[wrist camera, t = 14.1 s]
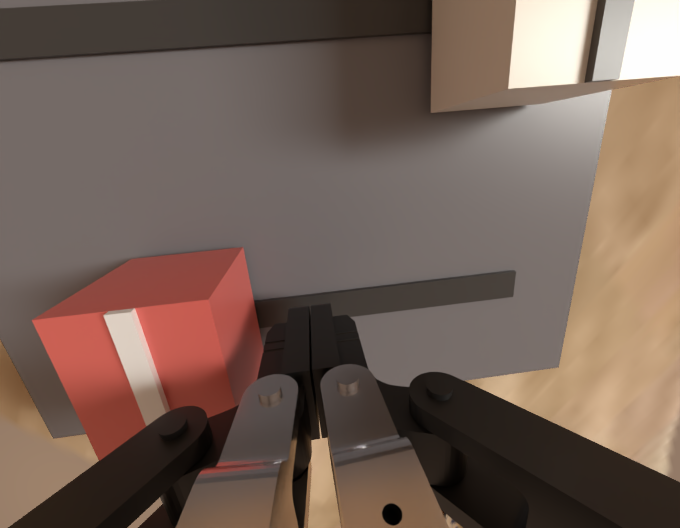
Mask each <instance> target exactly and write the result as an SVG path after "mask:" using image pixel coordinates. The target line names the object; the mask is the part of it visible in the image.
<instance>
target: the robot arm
mask: <svg viewBox="0 0 680 528" xmlns="http://www.w3.org/2000/svg"><path fill="white" fill-rule="evenodd" d="M319 420H320V427H321V434H322V438H326V437H328V445H329V451H330V459H331V466H332V473H333V479H334V485H335V491H336V498H337V504H338V510H339V516H340V523H341V528H449V526H448V524H447V522H446V520H445V517H444V515H443V513H442V511H443V512H444V513H446V514H447V515H448V516H449V517H450V518H452V519H453V520H454V521H455V522H457V523H458V524H459V525H460V526H462V527H463V528H680V482H678V481H676V480H674V479H672V478H669V477H667V476H665V475H663V474H661V473H659V472H657V471H655V470H652V469H650V468H648V467H646V466H644V465H642V464H640V463H638V462H635V461H633V460H631V459H629V458H627V457H625V456H623V455H621V454H618V453H616V452H614V451H612V450H610V449H608V448H606V447H604V446H601V445H599V444H597V443H595V442H593V441H591V440H589V439H587V438H584V437H582V436H580V435H578V434H576V433H574V432H572V431H569V430H567V429H565V428H563V427H561V426H559V425H557V424H555V423H552V422H550V421H548V420H546V419H544V418H542V417H540V416H538V415H535V414H533V413H531V412H529V411H527V410H525V409H523V408H521V407H518V406H516V405H514V404H512V403H510V402H508V401H506V400H504V399H501V398H499V397H497V396H495V395H493V394H491V393H489V392H487V391H484V390H482V389H480V388H478V387H476V386H474V385H472V384H470V383H467V382H465V381H463V380H461V379H459V378H457V377H455V376H452V375H450V374H447V373H442V372H427V373H423V374H420V375H418V376H417V377H415V378H414V379H413V380H412V381H411V383H410V386H409V387H404V386H395V385H390V384H386V383H384V382H381V381H379V380H378V379H376V378H375V377H374V375H373V374H372V372H371V371H370V370H369V369H368V366H367V363H366V359H365V356H364V352H363V348H362V345H361V341H360V338H359V334H358V331H357V327H356V324H355V321H354V320H353V319H352V318H350V317H349V316H348V315H340V316H332V309H331V303H326V304H318V305H311V314H310V308H309V306H303V307H295V308H289V309H288V317H287V322H286V323H278V324H274V326H273V327H272V328H271V329H270V330H269V331H268V332H267V335H266V340H265V345H264V349H263V354H262V358H261V363H260V368H259V372H258V377H257V380H256V381H255V382H253V383H252V384H251V385H250V386H249V387H248V388H247V389H246V390H245V392H244V393H243V396H242V398H241V401H240V404H239V405H237V406H235V407H234V408H232V409H229V410H227V411H224V412H222V413H219V414H217V415H214V416H212V417H209V418H207V414H206V412H205V411H204V410H203V409H202V408H200V407H197V406H184V407H179V408H176V409H173V410H171V411H169V412H167V413H165V414H163V415H162V416H160V417H159V418H157V419H156V420H154V421H153V422H152V423H150V424H149V425H148V426H146V427H145V428H144V429H142V430H141V431H139V432H138V433H137V434H135V435H134V436H133V437H131V438H130V439H129V440H127V441H126V442H124V443H123V444H122V445H120V446H119V447H118V448H116V449H115V450H114V451H112V452H111V453H109V454H108V455H107V456H105V457H104V458H103V459H101V460H100V461H99V462H97V463H96V464H94V465H93V466H92V467H90V468H89V469H88V470H86V471H85V472H84V473H82V474H81V475H79V476H78V477H77V478H75V479H74V480H73V481H71V482H70V483H68V484H67V485H66V486H64V487H63V488H62V489H60V490H59V491H58V492H56V493H55V494H54V495H52V496H51V497H49V498H48V499H47V500H45V501H44V502H43V503H41V504H40V505H38V506H37V507H36V508H34V509H33V510H32V511H30V512H29V513H28V514H26V515H25V516H23V517H22V518H21V519H19V520H18V521H17V522H15V523H14V524H13V525H11V526H10V527H8V528H127V527H128V526H129V525H131V523H133V522H134V521H135V520H136V519H137V518H138V517H139V516H140V515H141V514H142V513H143V512H144V511H145V510H146V509H148V508H149V507H150V506H151V505H152V504H153V503H154V502H155V501H156V500H157V499H158V498H159V497H160V498H161V501H162V503H163V504H162V505H161V506H160V507H159V508H158V509H157V510H156V511H155V512H154V513H153V514H152V515H151V516H150V517H149V518H148V519H147V520H146V521H145V522H143V523H142V524H141V525H140V526H139V527H138V528H308V518H309V502H310V486H311V470H312V468H311V453H312V449H311V440H314V439H320V431H319ZM441 510H442V511H441Z"/></svg>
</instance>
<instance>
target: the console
mask: <svg viewBox="0 0 680 528" xmlns="http://www.w3.org/2000/svg"><path fill="white" fill-rule="evenodd" d="M431 56H432V0H0V340H1V341H2V343H3V345H4V347H5V349H6V351H7V353H8V355H9V356H10V358H11V360H12V362H13V364H14V366H15V368H16V370H17V371H18V373H19V375H20V377H21V379H22V381H23V383H24V385H25V387H26V388H27V390H28V392H29V394H30V396H31V398H32V400H33V402H34V403H35V405H36V407H37V409H38V411H39V413H40V415H41V417H42V418H43V420H44V422H45V424H46V426H47V428H48V430H49V432H50V433H51V435H52V437H53V439H54V438H61V437H68V436H75V435H82V434H86V432H85V430H84V428H83V426H82V424H81V422H80V420H79V418H78V415H77V413H76V411H75V409H74V407H73V405H72V403H71V401H70V399H69V397H68V395H67V393H66V390H65V388H64V386H63V384H62V382H61V380H60V378H59V376H58V374H57V372H56V370H55V368H54V366H53V363H52V361H51V359H50V357H49V355H48V353H47V351H46V349H45V347H44V345H43V343H42V341H41V338H40V336H39V334H38V332H37V330H36V328H35V326H34V324H33V322H32V320H33V319H34V318H36V317H38V316H39V315H41V314H43V313H44V312H46V311H47V310H49V309H51V308H52V307H54V306H56V305H57V304H59V303H61V302H62V301H64V300H65V299H67V298H69V297H70V296H72V295H74V294H75V293H77V292H78V291H80V290H82V289H83V288H85V287H87V286H88V285H90V284H91V283H93V282H95V281H96V280H98V279H100V278H101V277H103V276H105V275H106V274H108V273H109V272H111V271H113V270H114V269H116V268H118V267H119V266H121V265H122V264H124V263H126V262H127V261H129V260H131V259H136V258H146V257H155V256H164V255H174V254H183V253H192V252H202V251H211V250H221V249H230V248H239V247H243V248H244V253H245V259H246V264H247V269H248V274H249V279H250V284H251V289H252V294H253V299H254V304H255V309H256V314H257V319H258V324H259V329H260V335H261V340H262V345H263V349H264V345H265V340H266V335H267V332H268V331H269V330H270V329H271V328H272V327H273V326H274V324H278V323H286V322H287V317H288V309H289V308H295V307H303V306H309V308H310V314H311V305H318V304H326V303H331V309H332V316H340V315H348V316H349V317H350V318H352V319H353V320H354V321H355V324H356V327H357V331H358V334H359V338H360V341H361V345H362V348H363V352H364V356H365V359H366V363H367V366H368V369H369V370H370V371H371V372H372V374H373V375H374V377H375V378H376V379H378V380H379V381H381V382H384V383H386V384H390V385H395V386H404V387H409V386H410V383H411V381H412V380H413V379H414V378H415V377H417V376H418V375H420V374H423V373H427V372H442V373H447V374H450V375H452V376H455V377H457V378H459V379H461V380H463V381H465V380H472V379H479V378H486V377H493V376H500V375H507V374H514V373H522V372H529V371H536V370H543V369H550V368H557V367H559V362H560V357H561V352H562V347H563V342H564V336H565V331H566V326H567V321H568V315H569V310H570V305H571V300H572V294H573V289H574V284H575V279H576V274H577V268H578V263H579V258H580V253H581V247H582V242H583V237H584V232H585V227H586V221H587V216H588V211H589V206H590V200H591V195H592V190H593V185H594V180H595V174H596V169H597V164H598V159H599V153H600V148H601V143H602V138H603V133H604V127H605V122H606V117H607V112H608V106H609V101H610V96H611V91H612V90H608V91H603V92H598V93H593V94H588V95H583V96H578V97H573V98H568V99H564V100H559V101H554V102H549V103H544V104H535V105H522V106H510V107H498V108H486V109H474V110H461V111H449V112H437V113H431Z"/></svg>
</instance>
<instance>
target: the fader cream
mask: <svg viewBox="0 0 680 528" xmlns="http://www.w3.org/2000/svg"><path fill="white" fill-rule="evenodd" d="M677 76H680V0H432V56H431V113H437V112H449V111H461V110H474V109H486V108H498V107H510V106H522V105H535V104H544V103H549V102H554V101H559V100H564V99H568V98H573V97H578V96H583V95H588V94H593V93H598V92H603V91H608V90H613V89H618V88H623V87H628V86H633V85H637V84H642V83H647V82H652V81H657V80H662V79H667V78H672V77H677Z"/></svg>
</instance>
